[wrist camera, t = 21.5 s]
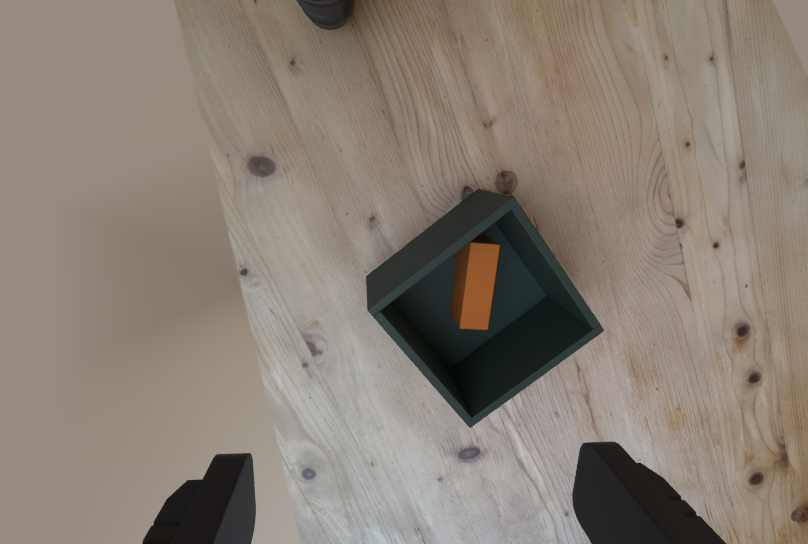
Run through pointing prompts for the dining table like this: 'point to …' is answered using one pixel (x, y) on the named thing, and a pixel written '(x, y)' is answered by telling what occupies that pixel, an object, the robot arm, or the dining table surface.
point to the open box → (509, 317)
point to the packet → (474, 283)
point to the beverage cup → (327, 12)
